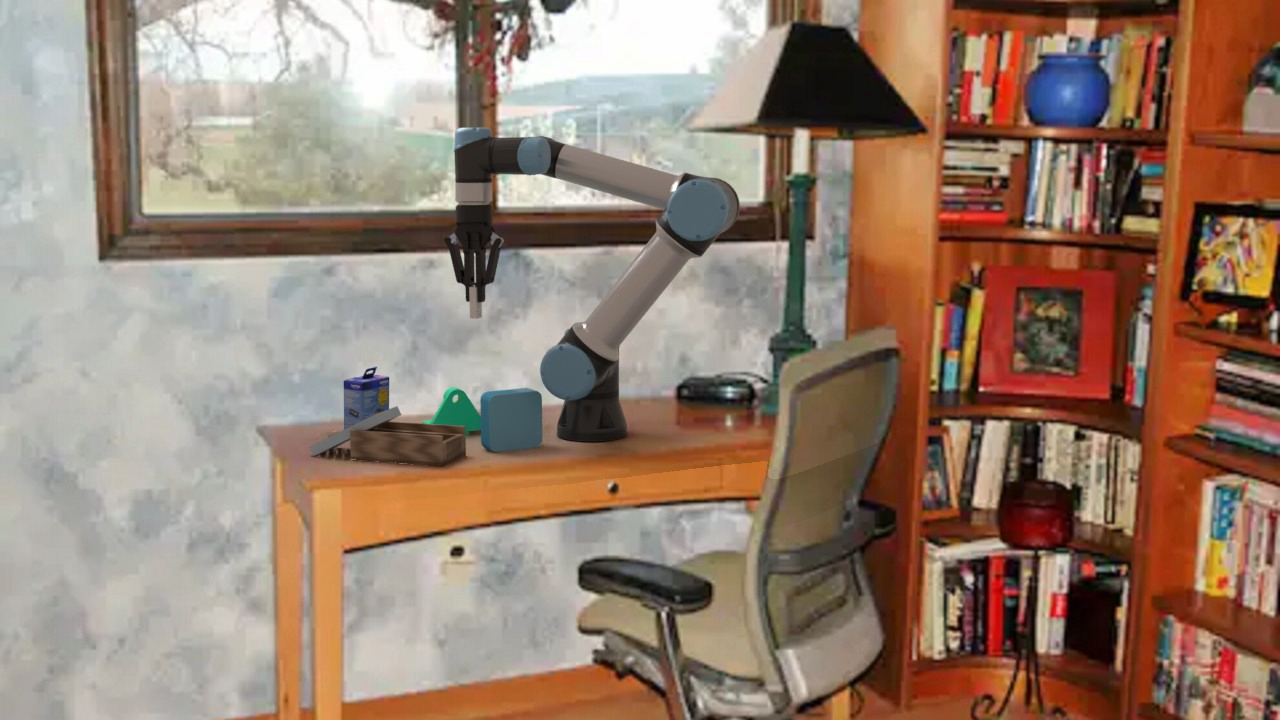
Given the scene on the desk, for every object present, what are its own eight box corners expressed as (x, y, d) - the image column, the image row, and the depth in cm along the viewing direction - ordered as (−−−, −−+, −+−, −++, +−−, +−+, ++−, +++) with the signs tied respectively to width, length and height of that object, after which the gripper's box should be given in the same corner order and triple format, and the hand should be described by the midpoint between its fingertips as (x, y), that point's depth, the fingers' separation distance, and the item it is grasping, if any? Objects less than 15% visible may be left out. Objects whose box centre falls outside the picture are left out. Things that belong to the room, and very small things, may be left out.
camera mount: (474, 428, 339) (473, 382, 337) (485, 434, 332) (484, 387, 330) (421, 432, 334) (420, 385, 333) (431, 439, 327) (429, 391, 326)
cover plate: (401, 414, 312) (395, 401, 312) (380, 423, 303) (373, 409, 303) (336, 447, 318) (330, 434, 318) (313, 456, 309) (307, 442, 309)
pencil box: (465, 455, 309) (465, 426, 309) (442, 466, 299) (441, 436, 298) (376, 449, 316) (376, 420, 315) (350, 459, 305) (349, 430, 304)
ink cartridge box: (363, 438, 327) (361, 371, 325) (342, 436, 329) (340, 369, 327) (391, 430, 335) (390, 365, 333) (371, 428, 338) (369, 363, 336)
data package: (533, 443, 321) (532, 387, 320) (542, 447, 318) (542, 390, 316) (480, 449, 315) (479, 392, 314) (490, 453, 312) (489, 395, 310)
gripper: (510, 203, 316) (512, 316, 320) (452, 202, 320) (454, 314, 324) (495, 204, 309) (497, 321, 313) (437, 203, 313) (439, 318, 317)
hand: (475, 317), depth 318 cm, fingers closed
